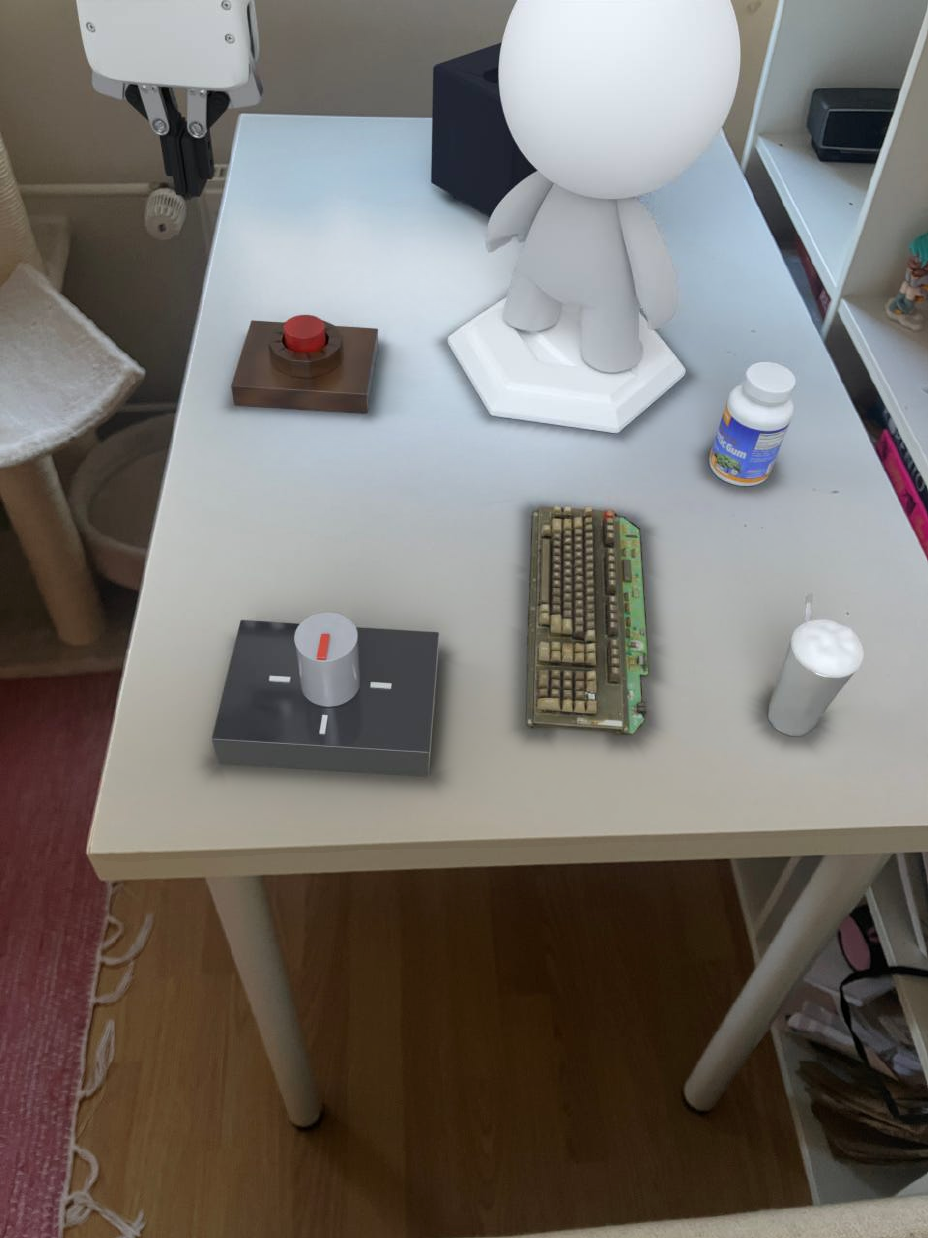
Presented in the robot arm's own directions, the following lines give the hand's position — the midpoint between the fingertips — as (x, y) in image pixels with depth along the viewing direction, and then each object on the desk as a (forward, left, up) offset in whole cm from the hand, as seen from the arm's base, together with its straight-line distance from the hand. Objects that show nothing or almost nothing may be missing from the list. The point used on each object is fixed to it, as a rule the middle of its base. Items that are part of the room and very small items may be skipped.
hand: (192, 186), depth 69 cm
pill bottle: (+44, +1, -23) cm, 50 cm away
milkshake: (+44, -25, -23) cm, 56 cm away
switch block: (+5, +10, -23) cm, 26 cm away
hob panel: (+12, -27, -23) cm, 37 cm away
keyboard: (+30, -17, -23) cm, 41 cm away
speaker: (+26, +48, -23) cm, 59 cm away
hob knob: (+12, -27, -20) cm, 36 cm away
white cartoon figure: (+29, +15, -23) cm, 40 cm away
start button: (+5, +10, -19) cm, 22 cm away
